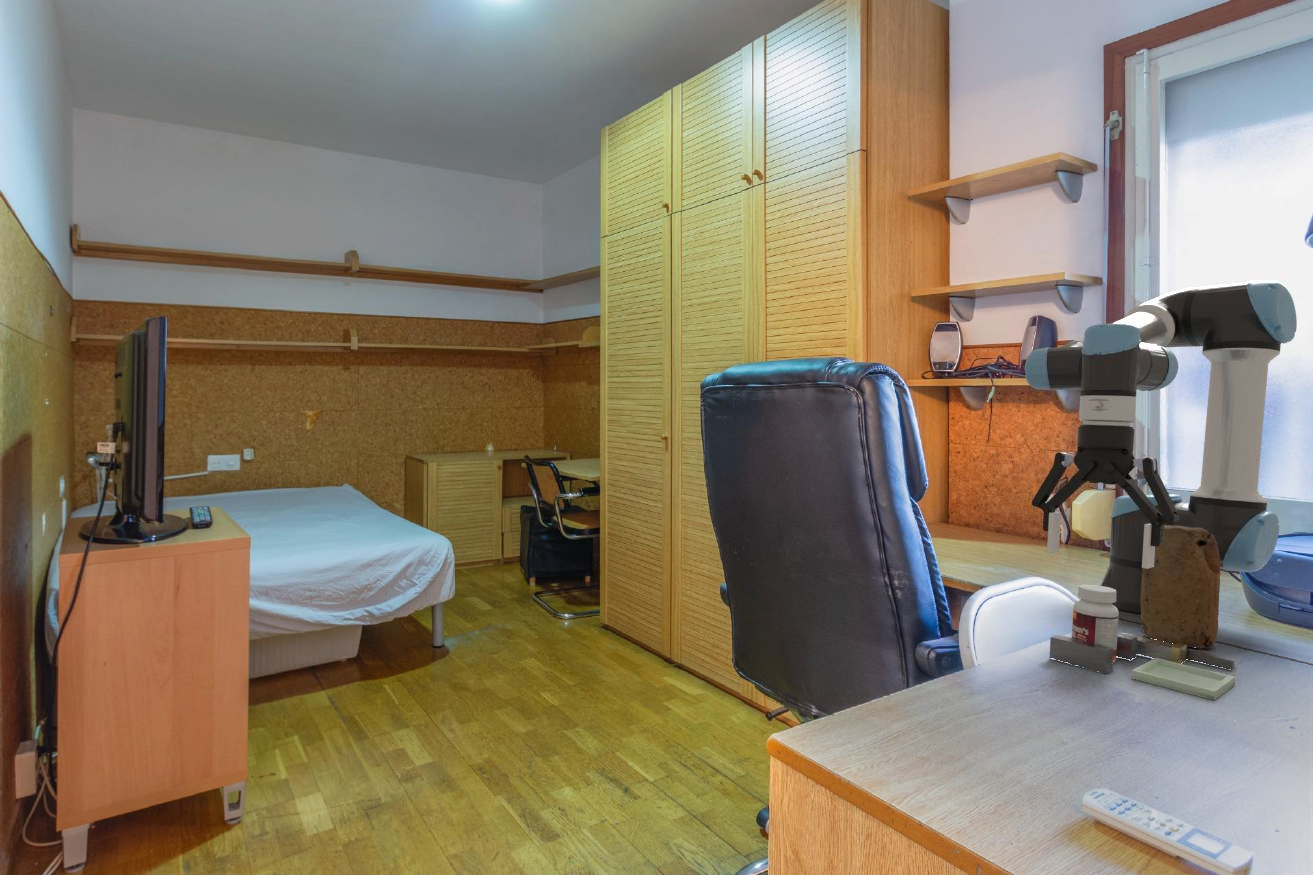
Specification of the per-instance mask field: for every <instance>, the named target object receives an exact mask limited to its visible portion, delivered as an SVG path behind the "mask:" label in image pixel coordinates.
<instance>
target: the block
mask: <svg viewBox="0 0 1313 875" xmlns="http://www.w3.org/2000/svg"><path fill="white" fill-rule="evenodd" d="M1220 588H1221V568H1220V556H1219V551H1218V546H1217V542H1216V540H1215V538H1214V536H1213V535H1212V534H1211V533H1209V532H1208V531H1207V530H1205V529H1203V528H1190V527H1185V526H1171V525H1164V534H1163V544H1162V545H1161V546H1159V547H1156V546H1155V557H1154V567H1152V568H1149V569H1146V568H1143V570H1142V583H1141V613H1140V617H1141V618H1140V619H1141V626H1142V632H1143V633H1144V635H1145V634H1146V635H1147V636H1148V637H1150V638H1152V639H1157V640H1159V641H1164V642H1168V643H1173V644H1178V643H1182V644H1187V646H1188V647H1187V648H1189V647H1196V648H1207V649H1212V648H1214V647H1215V644H1216V641H1217V637H1218V632H1219V615H1220V614H1219V613H1220V612H1219V611H1220V610H1219V607H1220V606H1219V605H1220ZM1146 635H1145V636H1146ZM1147 636H1146V637H1147ZM1148 637H1147V638H1148ZM1196 648H1195V649H1196Z"/></svg>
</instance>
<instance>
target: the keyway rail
mask: <svg viewBox="0 0 1313 875" xmlns="http://www.w3.org/2000/svg"><path fill="white" fill-rule="evenodd" d="M1186 659H1188V660H1194V661H1198V662H1203V663H1206V664H1209V665H1215V666H1218V667H1223V668H1226V669H1231V670H1233V669H1234V670H1235V667H1236V665H1235V663H1236V660H1235V659H1232V658H1228V657H1223V656H1219V655H1216V654H1210V653H1205V652H1202V651H1199V650H1198V651H1197V650H1193V649H1192V650H1191V649H1188V648H1186ZM1209 665H1208V666H1209ZM1226 669H1225V670H1226ZM1234 670H1233V671H1234Z"/></svg>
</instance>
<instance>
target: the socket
mask: <svg viewBox="0 0 1313 875" xmlns="http://www.w3.org/2000/svg"><path fill="white" fill-rule="evenodd" d="M1123 633H1124V632H1123ZM1123 633H1122V632H1118V635H1117V651H1116V656H1118V657H1122V658H1126V659H1130V660H1131V659H1132V658H1135V657H1136V658H1137V656H1136V653H1137V637H1136V636H1137V635H1136V636H1132V635H1133V634H1132V635H1127V634H1128V633H1127V634H1123ZM1049 640H1050V642H1049V658H1054V659H1056V660H1060V661H1063V662H1068V663H1070V664H1072V665H1071V666H1073V665H1078V666H1080V667H1079V668H1081V667H1084V668H1087V669H1086V670H1088V669H1092V670H1094V671H1093V672H1096V671H1099V672H1101V673H1100V674H1103V673H1107V674H1109V673H1110V672H1109V671H1111V672H1113V664H1114V663H1113V648H1112V647H1108V646H1104V645H1099V644H1095V643H1091V642H1087V641H1083V640H1078V639H1074V638H1072V637H1070V636H1066V635H1061V634H1058V633H1057V634H1055V635H1053V636H1051V637H1050V639H1049ZM1112 663H1113V664H1112ZM1084 668H1083V669H1084ZM1092 670H1091V671H1092ZM1099 672H1098V673H1099ZM1108 672H1109V673H1108Z"/></svg>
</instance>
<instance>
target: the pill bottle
mask: <svg viewBox="0 0 1313 875" xmlns="http://www.w3.org/2000/svg"><path fill="white" fill-rule="evenodd" d="M1077 592H1078V593H1077V597H1078V598H1079V600H1076V602H1075V603H1074V604H1073V610H1072V612H1073V613H1072V627H1071V638H1074V639H1078V640H1083V641H1087V642H1091V643H1095V644H1099V645H1104V646H1108V647H1112V648H1113V664H1115V662H1116V660H1117V658H1116V651H1117V635H1118V633H1119V617H1120V616H1119V615H1120V613H1119V609H1117V608H1116V607H1115V606H1114V605H1112V603H1115V602H1116V590H1115V589H1113V588H1109V587H1105V586H1100V585H1096V584H1079V585H1078V591H1077Z"/></svg>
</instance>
